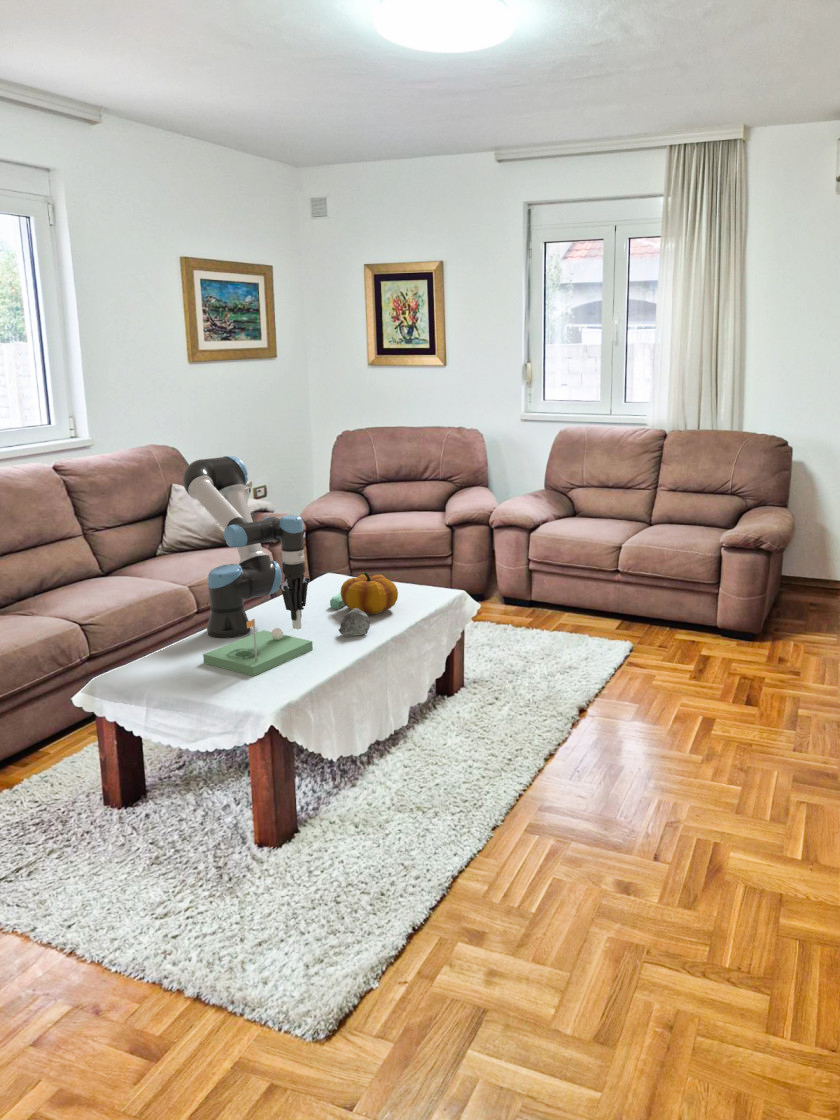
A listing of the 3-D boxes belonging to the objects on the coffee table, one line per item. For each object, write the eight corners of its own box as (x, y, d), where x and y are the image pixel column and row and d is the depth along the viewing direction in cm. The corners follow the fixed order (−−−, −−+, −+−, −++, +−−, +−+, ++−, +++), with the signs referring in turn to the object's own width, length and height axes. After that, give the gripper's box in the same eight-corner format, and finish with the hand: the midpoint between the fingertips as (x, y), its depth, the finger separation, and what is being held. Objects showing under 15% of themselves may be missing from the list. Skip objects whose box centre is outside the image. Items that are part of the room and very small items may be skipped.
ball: (268, 640, 306) (268, 629, 305) (277, 637, 309) (276, 625, 308) (277, 642, 304) (277, 631, 303) (285, 639, 307) (285, 627, 306)
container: (337, 595, 347) (366, 577, 369) (324, 599, 350) (354, 581, 372) (342, 609, 347) (372, 590, 369) (330, 613, 350) (360, 594, 372)
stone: (353, 610, 314) (360, 601, 323) (332, 626, 317) (340, 617, 326) (371, 630, 315) (378, 621, 324) (351, 647, 318) (358, 637, 327)
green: (264, 638, 317) (261, 591, 313) (312, 649, 305) (310, 600, 301) (203, 662, 295) (199, 612, 291) (253, 676, 283) (250, 623, 279)
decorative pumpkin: (354, 622, 333) (352, 582, 330) (335, 606, 353) (333, 568, 349) (405, 614, 341) (404, 575, 337) (383, 599, 361) (382, 562, 357)
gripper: (288, 567, 301) (292, 635, 307) (314, 558, 312) (317, 624, 318) (271, 564, 305) (275, 631, 311) (297, 556, 316) (301, 621, 322)
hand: (297, 628), depth 314 cm, fingers closed
